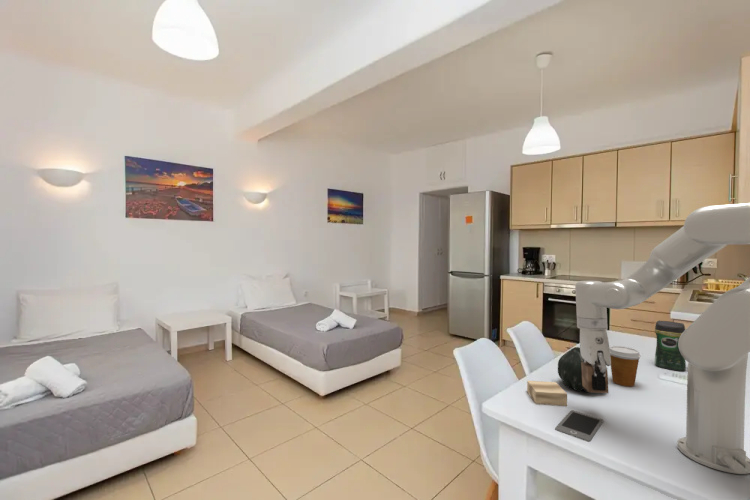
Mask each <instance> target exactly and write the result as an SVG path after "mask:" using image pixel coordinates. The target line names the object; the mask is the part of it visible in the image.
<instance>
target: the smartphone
mask: <svg viewBox="0 0 750 500" xmlns="http://www.w3.org/2000/svg"><path fill="white" fill-rule="evenodd" d="M603 423H604V420H603V418H599V417H597V416H593V415H589V414H586V413H584V412H581V411H580V412H579V411H577V410H573V409H572V410H569V412H568V413H567V414H566V415H565V416H564V417H563V418H562V419H561V421H560V422H559V423H558V424H557V425H556V426H555V428H554V430H555V431H558V432H560V433H561V434H566V435H568V436H571V437H574V438H577V439H579V440H582V441H586V442H588V443H589V442H591V441H592V440H593V437H595V435H596V433H597V432H598V430H599V428H600V427H601V425H602V424H603Z"/></svg>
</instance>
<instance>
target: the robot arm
mask: <svg viewBox="0 0 750 500" xmlns="http://www.w3.org/2000/svg"><path fill="white" fill-rule="evenodd" d="M728 245H750V202H744V203H730V204H729V203H728V204H714V205H705V206H701V207H699V208H696V209H695V210H693V211H692V212H691V213H689V214H688V215H687V217H686V218H685V220H684V223H683V226H682V227H680V228H679V229H678V230H676V231H675V232H673V233H672V234H671V235H670V236H668V237H667V238H666V239H664V240H663V241H662V242H660V243H659V244H658V245H656V246H655V247H654V248H653V249H652V250H651V252H650V255H649V257H648V259H647V260H646V262H644V264H643V265H641V266H640V267H639V268H638V269H637V270H635V271H634V272H632V273H631V274H629V276H627V277H626V278H623V280H622V279H621V280H616V281H609V282H608V281H607V282H602V281H600V280H580V281H577V282H576V283H575V285H574V286H575V287H574V288H575V289H574V290H575V305H576V306H575V307H576V309H575V310H576V327H577V329H579V348H580V353H581V356H582V358H583V359H584V362H588V363H590V364H591V365H592V370H593V375H592V389H593V390H599V391H605V390H606V382H605V376H606V375H605V372H606V370H607V371H608V367H611V358H610V348H609V347H610V342H609V337H608V313H607V312H608V311H607V310H608V309H613V310H625V309H628V308H630V307H636V306H638V305H640V304H641V303H644V302H645V301H646V300H648V299H649V298H651V297H653V296H654V295H655V294H657V293H659V292H660V291H662V290H664V289H665V288H666V287H667V286H669V285H670V284H671V283H673V282H674V281H676V280H677V279H680V278H681V277H682V276H683V275H685V274H687V272H690V271H691V270H692V269H693V268H695V267H696V266H698V265H700V263H702V262H704V261H705V260H706V259H708V258H709V257H711V256H713V255H715V254H716V253H717V252H719V251H721V250H722V249H723V248H725V247H727V246H728ZM607 308H608V309H607ZM678 346H679V351H680V353H681V355H682V356H683V358H684V359H685V362H687V378H686V379H687V381H686V383H687V385H686V417H685V418H686V419H685V420H686V423H685V424H686V426H685V428H686V429H685V437H681V438H679V439H677V443H676V444H677V445H676V446H677V448H678V450H679V451H680V452H681V453H682V454H683V455H685V457H688V458H689V459H691V460H693V461H694V462H696V463H699V464H701V465H703V466H706V467H709V468H711V469H713V470H716V471H717V470H718V471H720V472H725V473H729V474H735V475H736V474H737V475H747V474H748V475H749V474H750V457H749V456H748V455H747V452H746V450H745V416H746V415H745V414H746V413H745V411H746V409H745V408H746V407H745V406H746V388H747V387H746V383H747V368H748V357H749V356H748V355H749V353H750V276H749V277H748V278H746V279H745V281H743V282H742V283H741V284H739V285H738V286H736V287H734V288H731V289H729V290H727V291H725V292H724V293H722V294H721V295H720V296H719V297H718V298H716V300H714V302H712V304H710V305H709V307H707V308H706V309H705V310H704V311H703V312H702V313H700V315H699V316H698V317H696V319H695V320H694V321H693V322H692V323H691V324H690V325H689V326H688V327H686V328H685V331H684V332H683V333H682V334H681V336H680V338H679V341H678ZM596 362H597V363H599V365H595V363H596ZM596 367H599V368H597V370H596Z"/></svg>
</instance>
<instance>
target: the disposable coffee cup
mask: <svg viewBox="0 0 750 500" xmlns="http://www.w3.org/2000/svg"><path fill="white" fill-rule="evenodd" d="M609 348H610V358H611V365H610V371H611V378H612V379H611V380H612V382H613V383H614V384H617V385H618V386H623V387H630V388H631V387H634V386H635V383H636V378H637V373H638V367H639V362H640V361H639V360H640V359H641V354H640V351H639V350H637V349H635V348H631V347H626V346H618V345H612V346H609Z"/></svg>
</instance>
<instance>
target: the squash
mask: <svg viewBox="0 0 750 500" xmlns="http://www.w3.org/2000/svg"><path fill="white" fill-rule="evenodd" d="M581 362H584V359H583V358H582V356H581V353H580V346H576V347H572V348H571V349H570V350H568V351H566V352H565V353H564V354H563V355H561V356H560V358H559V359H558V361H557V373H558V376H559V378H560V380H561V381H562V383H563V384H564V386H566V387H567V388H570V389H574V391H578V392H580V391H584V392H586V393H589V392H588V391H587V390H586V389H585V388H584V387H583V386H582V367H581ZM596 363H597V362H596Z"/></svg>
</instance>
